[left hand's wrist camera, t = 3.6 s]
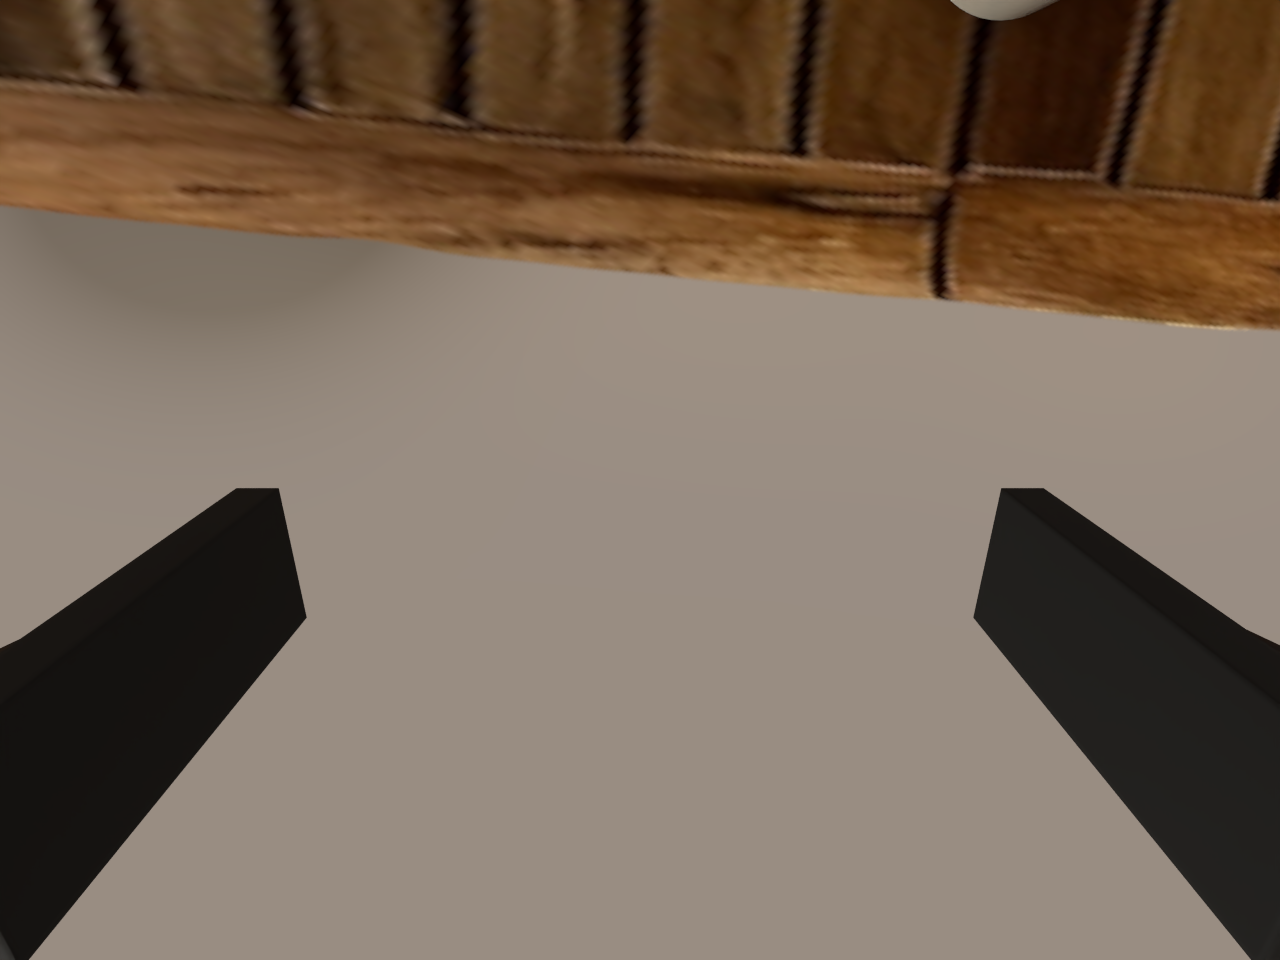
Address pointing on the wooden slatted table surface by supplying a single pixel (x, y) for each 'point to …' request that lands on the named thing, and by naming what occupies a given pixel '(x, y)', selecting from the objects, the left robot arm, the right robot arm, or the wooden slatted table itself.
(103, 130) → the wooden slatted table surface
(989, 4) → the jar
